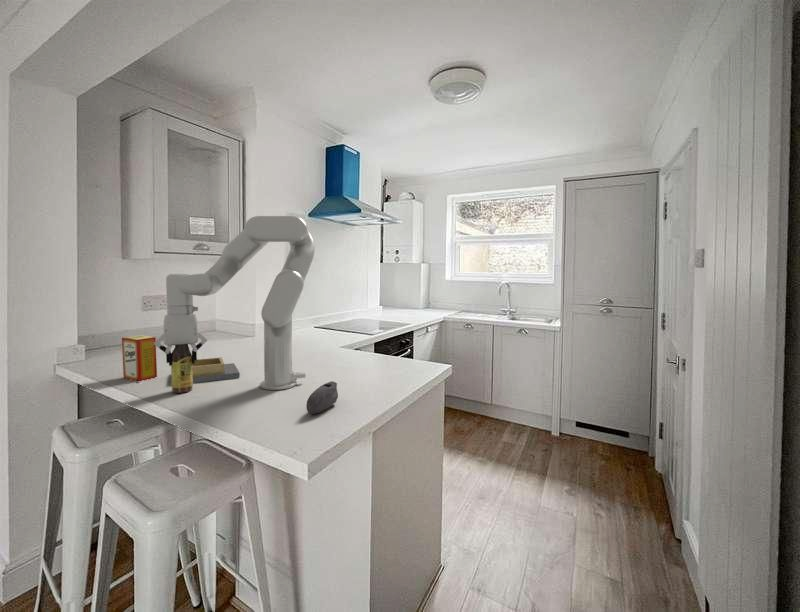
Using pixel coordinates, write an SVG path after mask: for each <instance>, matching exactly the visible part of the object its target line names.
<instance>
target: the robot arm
mask: <svg viewBox="0 0 800 612" xmlns="http://www.w3.org/2000/svg"><path fill="white" fill-rule="evenodd" d="M276 242H277V243H279V242H282V243H283V242H284V243H285V242H288V243H289V245H290V249H289V251H288V255H287V257H286V259H285V261H284V264H283V266H282V269H281V271H280V272H279V273H278V274H277V275H276V277H275V279H274V280H273V282H272V284H271V287H270V290H269V292H268V294H267V297H266V299H265V301H264V304H263V306H262V308H261V313H260V314H261V319H262V321H263V337H264V338H263V355H264V356H263V357H264V358H263V359H264V360H263V362H264V364H263V365H264V367H263V368H264V371H263V372H264V380H262V381H261V382H260V383H259V386H260V388H261V389H262V390H263V389H264V390H268V391H278V390H279V391H281V390H286V389H290V388H293V387H295V386H296V385H297V383H298V382H297V380H298V379H305V378H306V373H305V372H299V371H298V372H294V371H293V335H292V334H293V313H294V310H295V309H296V306H297V304H298V301H299V300H300V297H301V294H302V292H303V290H304V285H305V280H306V278H307V275H308V273H309V270H310V267H311V265H312V262H313V260H314V256H315V242H314V239H313V236H312V234H311V233H310V231H309V230H308V225H307V223H306V222H305V220H304V219H302V218H301V217H298V216H297V215H296V216H295V215H255V216H251V217H250V218H249V219H248V220H247V221H246V223H245V225H244V228H243V229H242V230H241V231H240V232H239V233H238V234H237V235H236V236H235V237H234V238H233V239H232V240H231V241H230V242H229V243H227V244H226V245H225V247H224V249H222V252H221V255H220V257H219V258H218V259H217V260H216V262H215V263H214V264H213V265H212V266H211V267H210V268H209V269H208V270H207V271H206V272H204V273H193V274H186V273H170V274H169V273H168V275H166V278H165V283H166V284H165V286H166V287H165V291H166V314H165V315H164V318H163V326H162V330H163V332H162V334H161V336H159V337H158V338H156V341H155V342H154V345H155V346H156V348H158V349H160V350H161V351H162V352H163V353H165V355H166V356H165V357H166V364H168V366H170V367H171V365H172V359H171V354H172V352H171V349H172V348H173V346H175V345H184V344H188V345H190V347H191V348H192V350H191V355H192V363H195V360H197V359H198V357H197V356H198V355H197V354H198V353H197V352H198V350H200V348H201V347H202V346H203V345H205V343H206V342H207V341H208V339H207V338H206V337H205V336H204V335H202V334H201V332H199V326H198V319H197V315H196V314H195V313H194V312H197V311H199V307H198V306H194V299H193V298H194V296H199V297H205V296H212V295H214V294H216V293H218V292H219V291H220V290H221V289H223V287H225V285H226V284H227V283H229V281H230V280H231V279H232V278H233V277H234V276H235V275H236V274H237V273H238V272H239V271H240V270H242V268H244V267H245V266H246V264H247V263H248V262H249V261H251V259H252V258H254V256H255V255H256V254H258V253H259V252H260V251H261V250H262V249H263V248H264V247H265V246H266V245H268V243H276ZM199 339H200V341H199ZM162 341H163V343H164V345H163V344H162V343H161V342H162ZM165 345H166V346H165Z"/></svg>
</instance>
